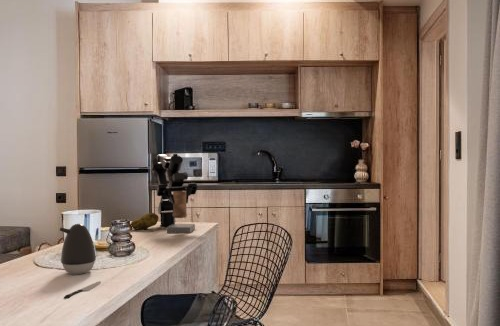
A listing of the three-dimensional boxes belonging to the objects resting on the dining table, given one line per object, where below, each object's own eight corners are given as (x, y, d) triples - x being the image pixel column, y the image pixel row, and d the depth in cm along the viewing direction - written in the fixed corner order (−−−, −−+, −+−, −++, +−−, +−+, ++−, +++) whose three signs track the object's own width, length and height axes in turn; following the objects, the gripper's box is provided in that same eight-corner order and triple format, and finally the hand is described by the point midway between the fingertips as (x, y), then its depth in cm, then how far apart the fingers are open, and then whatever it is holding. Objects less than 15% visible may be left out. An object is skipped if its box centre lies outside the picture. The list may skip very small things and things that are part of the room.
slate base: (166, 232, 225) (166, 227, 225) (172, 229, 236) (172, 223, 236) (190, 232, 224) (190, 227, 224) (194, 229, 235) (194, 223, 235)
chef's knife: (111, 281, 141) (102, 280, 142) (111, 277, 141) (102, 277, 142) (73, 300, 123) (62, 299, 123) (73, 296, 123) (63, 295, 123)
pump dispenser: (60, 270, 153) (59, 222, 153) (94, 267, 157) (93, 220, 157) (61, 278, 144) (60, 227, 144) (97, 274, 148) (96, 224, 148)
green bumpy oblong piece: (136, 227, 242) (135, 211, 242) (160, 228, 240) (160, 212, 240) (129, 230, 234) (128, 213, 234) (154, 230, 232) (154, 214, 231)
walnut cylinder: (172, 218, 222) (172, 192, 222) (174, 216, 228) (174, 190, 228) (185, 218, 222) (185, 192, 222) (187, 216, 228) (186, 190, 228)
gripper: (157, 167, 224) (163, 193, 215) (196, 166, 232) (203, 191, 222) (154, 182, 232) (159, 208, 222) (191, 181, 239) (198, 206, 230)
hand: (180, 203), depth 224 cm, fingers closed on walnut cylinder, 6 cm apart
